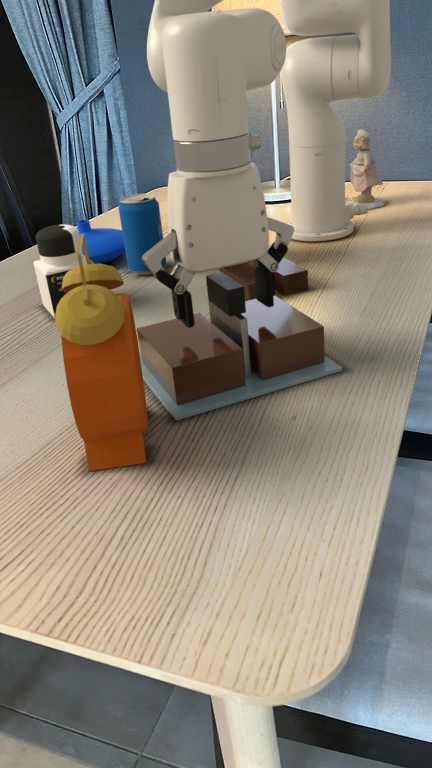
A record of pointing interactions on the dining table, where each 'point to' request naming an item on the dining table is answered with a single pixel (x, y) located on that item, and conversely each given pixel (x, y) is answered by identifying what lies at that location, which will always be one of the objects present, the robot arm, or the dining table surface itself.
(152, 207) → the beverage can
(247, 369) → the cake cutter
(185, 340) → the cake
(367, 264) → the dining table surface
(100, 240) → the vase
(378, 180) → the figurine
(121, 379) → the alarm clock
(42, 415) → the dining table surface
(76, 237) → the medicine bottle
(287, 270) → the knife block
